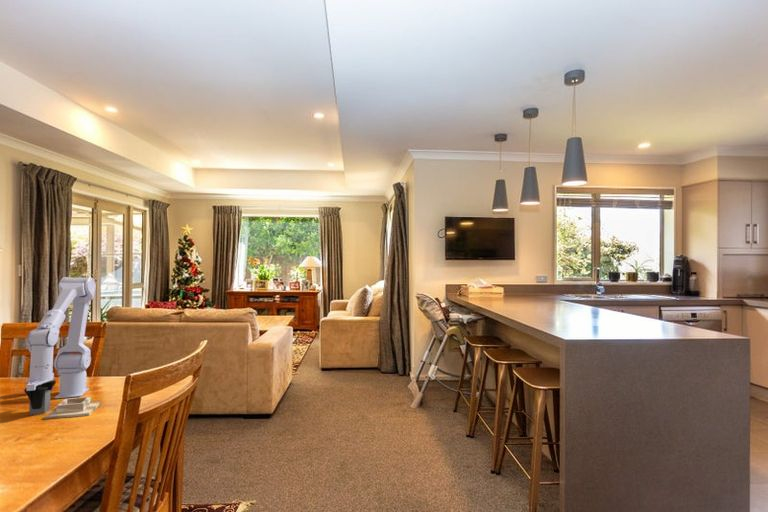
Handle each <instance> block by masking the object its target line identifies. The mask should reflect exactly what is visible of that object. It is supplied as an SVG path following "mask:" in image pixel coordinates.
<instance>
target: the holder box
mask: <svg viewBox="0 0 768 512" xmlns="http://www.w3.org/2000/svg"><path fill="white" fill-rule="evenodd" d="M91 399H92V397H91V396H86V397H85V396H84V397H68V398H64V400H62V401H61V402H59V403H58V404H57V405H56V406H55V407H54V408H53V409H51V411H49V412H48V413H46V414H45V416H43V420H44V421H45V420H54V419H55V420H56V419H65V418H66V419H67V418H76V417H87V416H88V417H89V416H91V414H92V413H93V412H94V411H95V410H96V409H97V408H98V407H99V406H100V405H101V403H102V401H101V400H100V401H99V400H98V401H91Z"/></svg>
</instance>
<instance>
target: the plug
mask: <svg viewBox="0 0 768 512" xmlns="http://www.w3.org/2000/svg"><path fill="white" fill-rule="evenodd" d="M50 392H51V393H52V391H51V390H47V391H46V392H45V395H44V398H43V403H42V407H41V408H40V409H32V407H31V403H30V402H29V411H28V415H29V416H34V415H44V414H45V415H46V414H47V412H50V409H51V393H50Z"/></svg>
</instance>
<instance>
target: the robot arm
mask: <svg viewBox="0 0 768 512" xmlns="http://www.w3.org/2000/svg"><path fill="white" fill-rule="evenodd" d="M96 286H97V284H96V281H95V279H94V278H93V277H67V276H64V277H62V278H61V279H60V280H59V283H58V292H59V294H58V296H57V298H56V301H55V302H54V305H53V307H52V308H51V309H50V310H47V311H46V312H45V313H44V315H43V317H42V319H41V320H40V322H39V323H38V325H37V327H36V328H35V329H33V330H31V331H29V333H28V335H27V338H26V344H27V346H28V351H29V353H30V363H29V378H26V379H25V380H24V382H25V383H28V384H26V387H25V388H24V393H25V394H26V395H27V397H28V399H29V404H30V403H31V407H32V409H40V408H41V407H42V403H43V398H44V395H45V392H46V391H47V390H51V392H50V394H52V390H53V388H54V387H55V385H56V382H57V381H56V380H54V378H55V372H54V371H53V367H54V368H55V370H56V371H57V373H59V393H58V394H57V395H55V396H54V399H68V398H81V396H83V395H84V394H85V393H86V392H88V391H89V390H90V388H89V387H87V377H88V376H87V375H88V374H87V371H86V370H87V369H88V368H89V366H90V365H91V361H92V357H91V352H92V351H91V348H89V347H88V346H86V345H85V344H84V341H85V334H86V328H87V322H88V321H87V320H88V316H89V315H88V314H89V308H90V302H91V301H92V300H93V299H94V298H95V294H96ZM94 300H95V299H94ZM71 303H72V309H71V316H70V322H69V327H68V332H67V333H68V334H67V339H66V344H65V345H64V346H62V347H61V348H59V349H58V350H57V354H56V357H55V359H54V346H55V345H56V344H57V343H58V341H59V338H60V337H59V335H60V333H61V332H60V331H61V330H60V328H61V326H62V325H63V324H64V321H65V319H66V317H67V316H66V314H65V312H66V311H67V309H68V308H69V306H70V305H71Z"/></svg>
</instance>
